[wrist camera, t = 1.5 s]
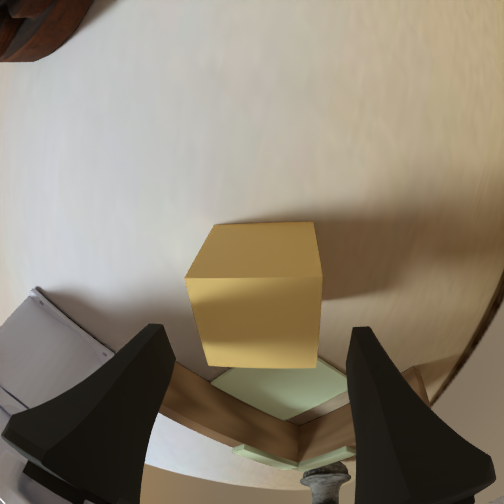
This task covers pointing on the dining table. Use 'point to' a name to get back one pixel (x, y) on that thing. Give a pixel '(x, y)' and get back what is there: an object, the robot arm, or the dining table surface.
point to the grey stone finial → (326, 482)
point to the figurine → (37, 27)
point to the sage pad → (283, 387)
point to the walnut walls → (264, 424)
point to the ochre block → (258, 295)
